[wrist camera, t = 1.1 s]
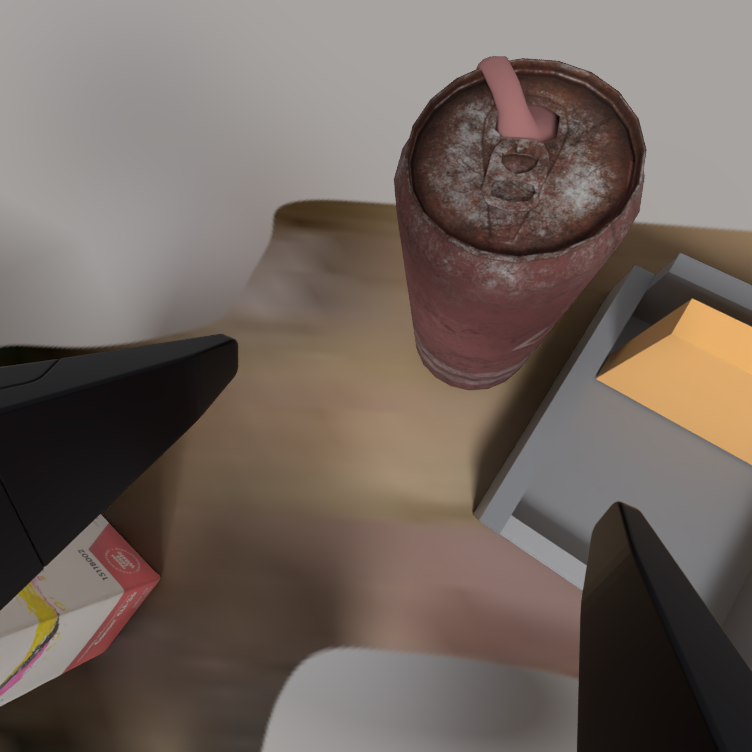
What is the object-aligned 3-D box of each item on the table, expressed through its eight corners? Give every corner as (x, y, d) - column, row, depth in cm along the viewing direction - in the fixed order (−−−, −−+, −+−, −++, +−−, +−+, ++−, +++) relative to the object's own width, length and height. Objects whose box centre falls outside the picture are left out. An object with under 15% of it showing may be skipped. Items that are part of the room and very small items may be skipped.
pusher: (784, 483, 19) (978, 488, 12) (595, 378, 21) (671, 333, 14) (808, 436, 19) (1011, 416, 12) (620, 338, 21) (705, 275, 15)
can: (497, 266, 24) (578, -2, 10) (548, 366, 22) (722, 201, 9) (398, 306, 24) (352, 96, 11) (441, 408, 23) (450, 311, 9)
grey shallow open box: (713, 678, 18) (813, 752, 14) (472, 514, 21) (483, 526, 16) (851, 411, 20) (983, 391, 15) (609, 291, 23) (656, 241, 18)
